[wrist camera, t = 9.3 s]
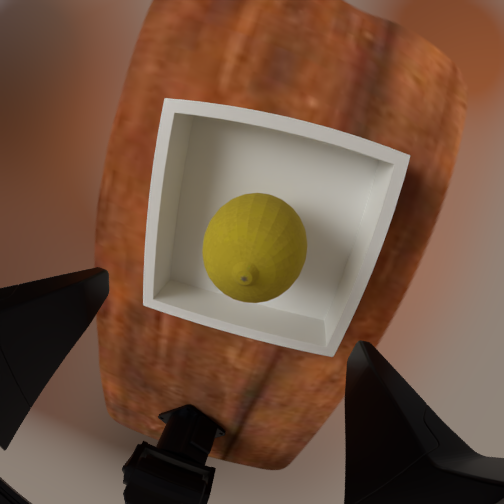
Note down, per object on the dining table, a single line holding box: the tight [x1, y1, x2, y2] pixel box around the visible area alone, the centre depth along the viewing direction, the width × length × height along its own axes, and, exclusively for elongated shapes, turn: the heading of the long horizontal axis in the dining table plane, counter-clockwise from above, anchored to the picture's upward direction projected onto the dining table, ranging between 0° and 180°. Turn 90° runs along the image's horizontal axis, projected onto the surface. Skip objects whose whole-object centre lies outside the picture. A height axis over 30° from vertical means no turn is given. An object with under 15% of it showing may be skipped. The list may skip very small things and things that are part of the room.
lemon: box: [202, 193, 307, 303], centre depth 16 cm, size 6×6×8 cm
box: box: [143, 98, 410, 357], centre depth 18 cm, size 14×14×4 cm
